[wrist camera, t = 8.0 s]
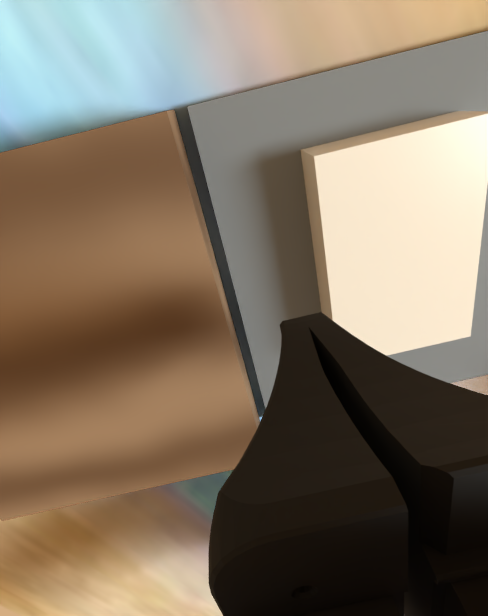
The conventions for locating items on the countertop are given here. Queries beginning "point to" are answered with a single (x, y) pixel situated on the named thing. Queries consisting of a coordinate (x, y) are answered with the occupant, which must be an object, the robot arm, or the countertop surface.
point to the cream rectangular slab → (400, 229)
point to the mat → (292, 193)
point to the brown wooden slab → (112, 322)
